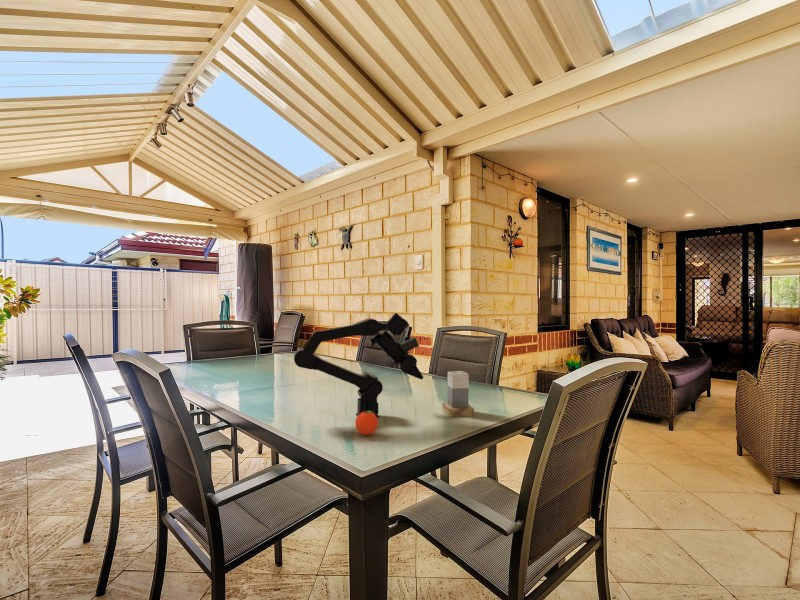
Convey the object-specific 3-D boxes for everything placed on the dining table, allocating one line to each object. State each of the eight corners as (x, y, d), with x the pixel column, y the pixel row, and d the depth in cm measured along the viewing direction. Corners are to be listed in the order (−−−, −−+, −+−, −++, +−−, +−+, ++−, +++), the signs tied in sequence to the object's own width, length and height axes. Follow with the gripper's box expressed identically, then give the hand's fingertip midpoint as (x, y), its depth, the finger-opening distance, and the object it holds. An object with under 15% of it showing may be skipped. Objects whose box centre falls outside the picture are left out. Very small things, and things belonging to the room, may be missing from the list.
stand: (449, 416, 138) (449, 409, 138) (442, 409, 147) (442, 402, 147) (473, 415, 139) (473, 408, 139) (465, 408, 148) (465, 402, 148)
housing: (452, 408, 140) (452, 374, 140) (447, 403, 146) (447, 371, 146) (468, 407, 141) (468, 374, 141) (462, 403, 147) (463, 371, 147)
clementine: (365, 428, 125) (366, 406, 125) (384, 432, 121) (384, 409, 121) (350, 435, 118) (350, 412, 118) (369, 440, 114) (369, 415, 114)
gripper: (410, 331, 131) (442, 364, 133) (400, 327, 150) (428, 356, 151) (387, 355, 130) (419, 388, 132) (380, 348, 148) (408, 377, 150)
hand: (419, 376), depth 141 cm, fingers open, 9 cm apart
